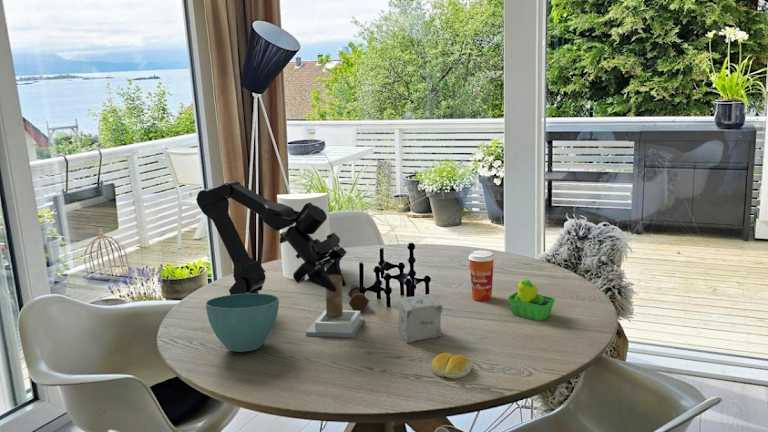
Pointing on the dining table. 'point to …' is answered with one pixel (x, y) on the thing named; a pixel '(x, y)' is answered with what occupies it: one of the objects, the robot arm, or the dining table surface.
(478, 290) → the paper cup
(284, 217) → the robot arm
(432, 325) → the light grey box
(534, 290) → the fruit basket
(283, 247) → the cylinder
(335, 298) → the walnut cylinder
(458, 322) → the dining table surface
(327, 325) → the white tray
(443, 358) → the bread roll
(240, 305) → the teal bowl
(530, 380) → the dining table surface
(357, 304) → the bolt
